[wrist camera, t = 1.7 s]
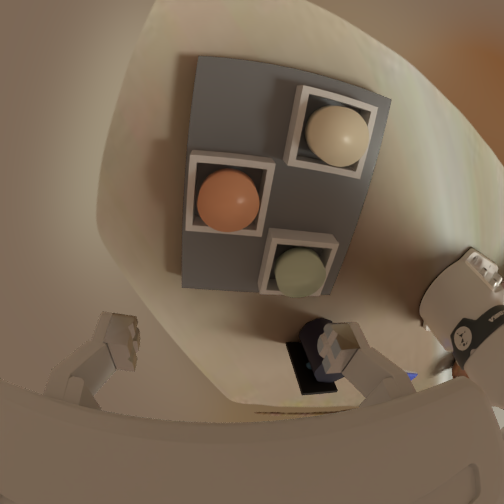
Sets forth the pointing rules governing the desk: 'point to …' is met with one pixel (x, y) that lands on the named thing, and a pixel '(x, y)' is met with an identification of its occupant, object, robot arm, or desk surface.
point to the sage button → (299, 272)
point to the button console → (271, 172)
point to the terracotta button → (228, 200)
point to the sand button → (337, 135)
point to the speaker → (311, 361)
